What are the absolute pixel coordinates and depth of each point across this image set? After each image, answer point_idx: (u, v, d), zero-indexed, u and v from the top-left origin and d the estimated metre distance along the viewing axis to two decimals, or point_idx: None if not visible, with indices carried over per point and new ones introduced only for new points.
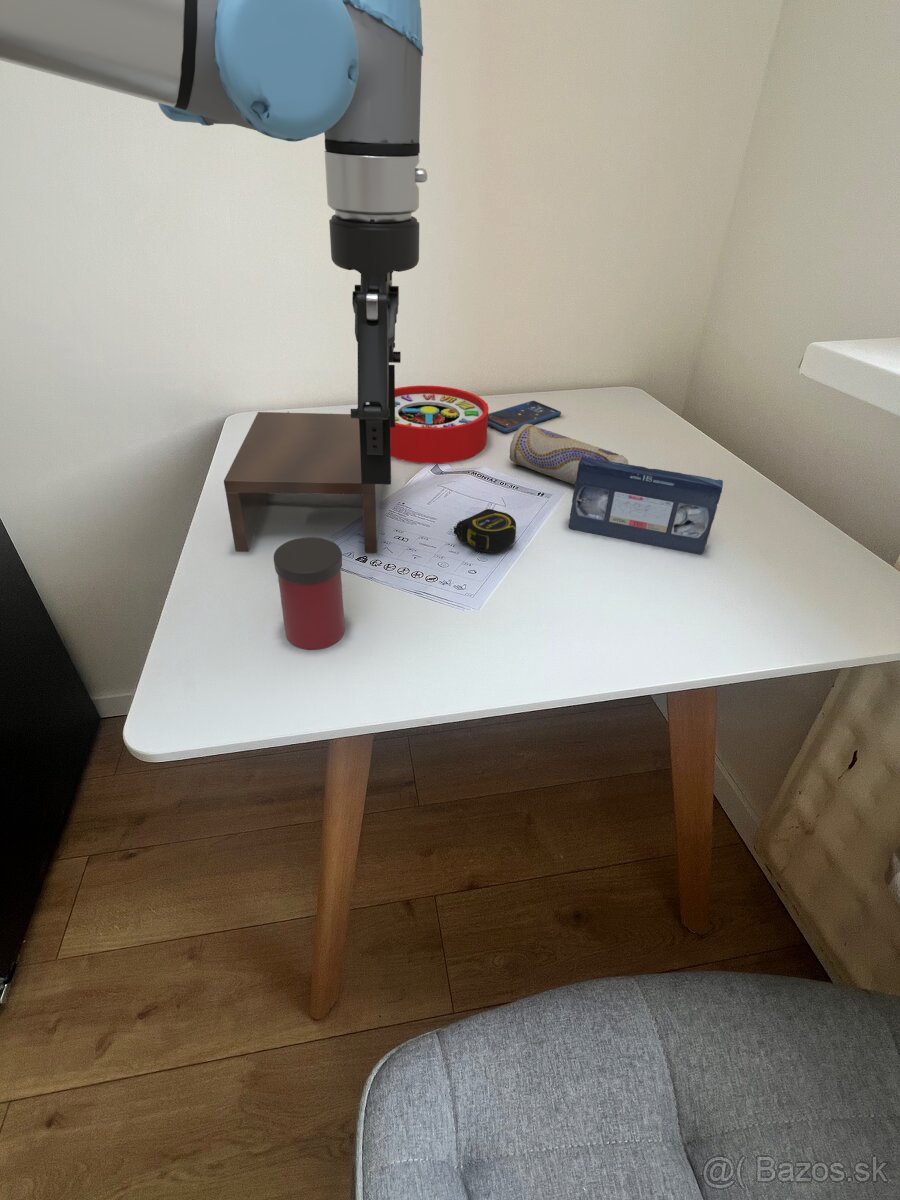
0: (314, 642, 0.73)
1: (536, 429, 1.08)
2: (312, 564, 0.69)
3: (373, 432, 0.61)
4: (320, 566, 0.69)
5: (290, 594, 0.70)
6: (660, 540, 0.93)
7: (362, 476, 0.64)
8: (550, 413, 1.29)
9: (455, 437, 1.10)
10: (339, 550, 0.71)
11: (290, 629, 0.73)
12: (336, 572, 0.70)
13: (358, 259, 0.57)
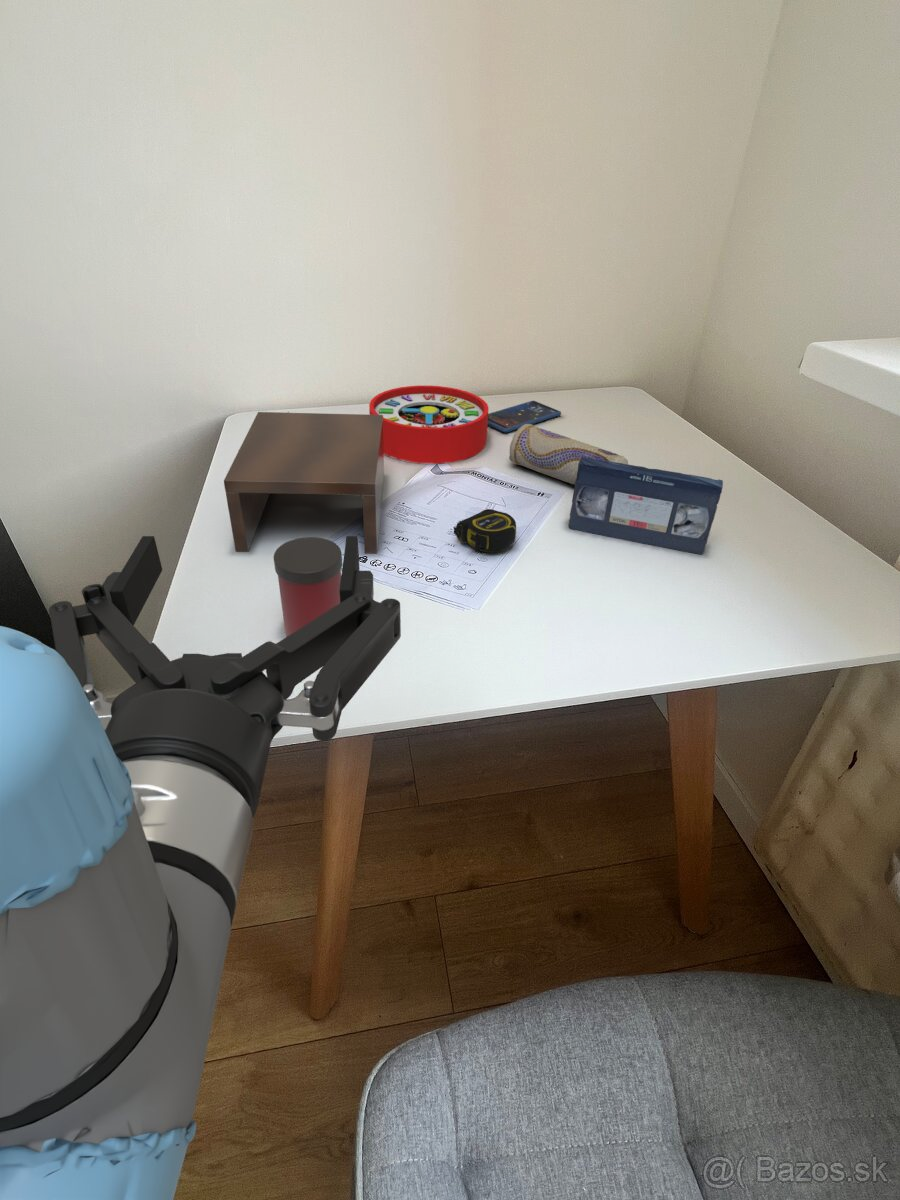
0: None
1: (536, 429, 1.08)
2: (312, 564, 0.69)
3: (371, 599, 0.44)
4: (320, 566, 0.69)
5: (290, 594, 0.70)
6: (660, 540, 0.93)
7: None
8: (550, 413, 1.29)
9: (455, 437, 1.10)
10: (339, 550, 0.71)
11: (290, 629, 0.73)
12: (336, 572, 0.70)
13: None
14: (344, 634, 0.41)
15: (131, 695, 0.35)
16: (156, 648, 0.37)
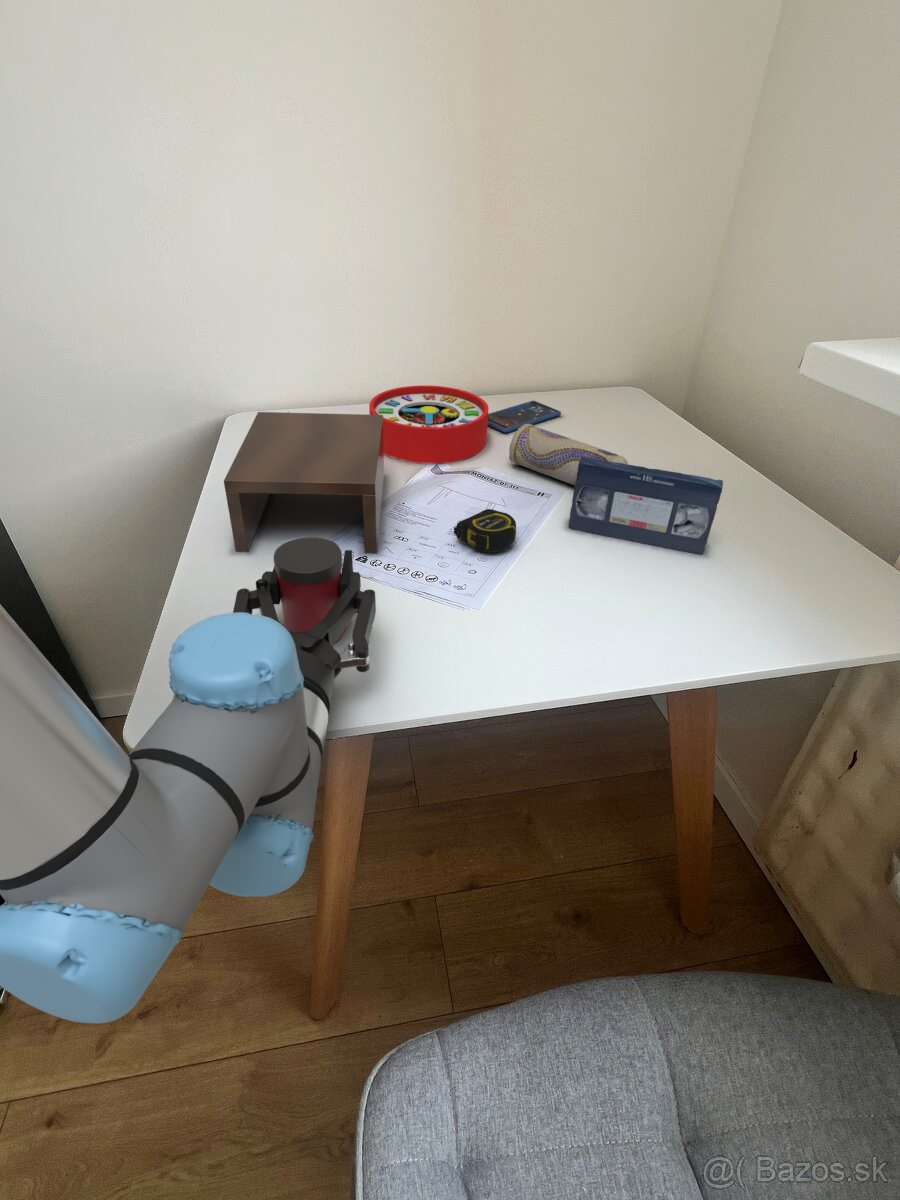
0: None
1: (536, 429, 1.08)
2: (312, 564, 0.69)
3: (359, 589, 0.73)
4: (320, 566, 0.69)
5: (290, 594, 0.70)
6: (660, 540, 0.93)
7: None
8: (550, 413, 1.29)
9: (455, 437, 1.10)
10: (339, 550, 0.71)
11: (290, 629, 0.73)
12: (336, 572, 0.70)
13: None
14: (349, 611, 0.70)
15: None
16: None
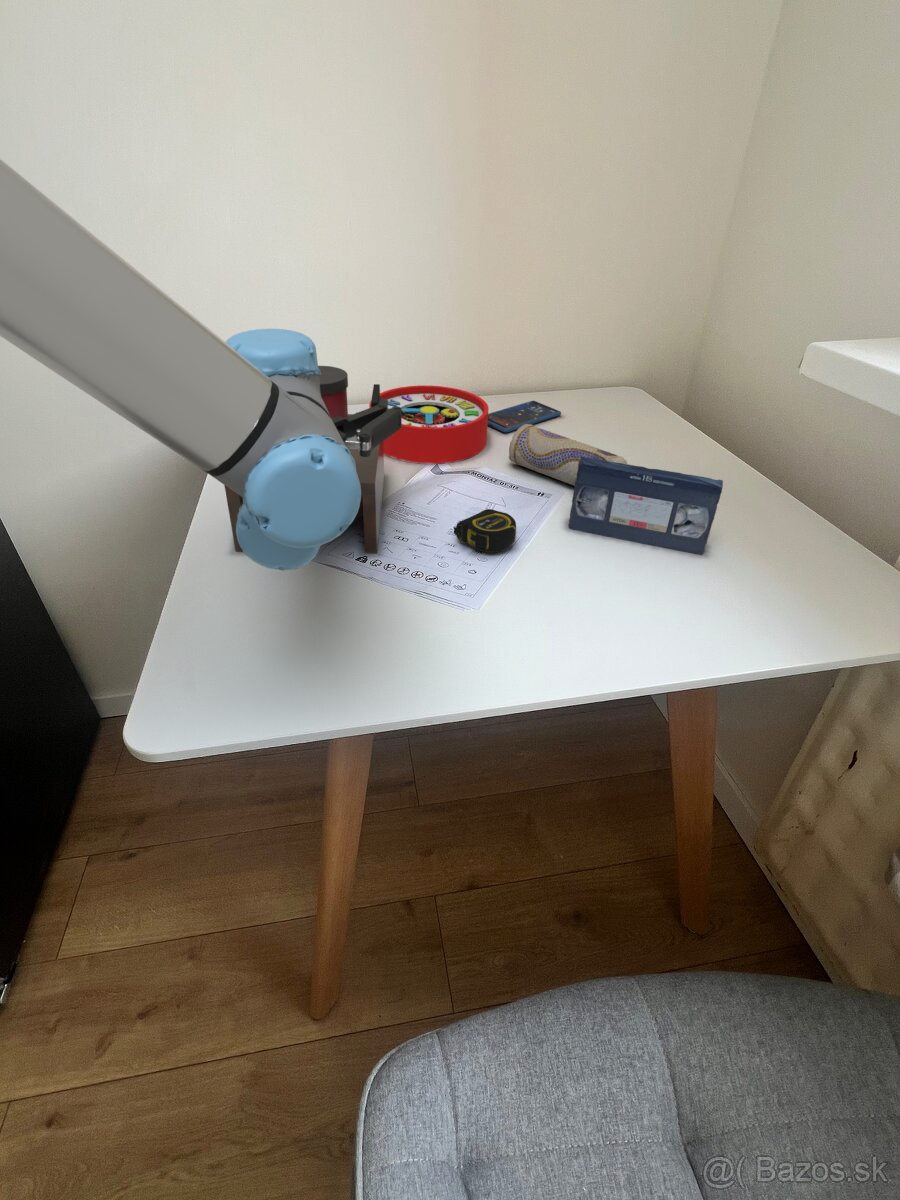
0: None
1: (536, 429, 1.08)
2: (323, 380, 0.83)
3: None
4: (330, 380, 0.83)
5: None
6: (660, 540, 0.93)
7: None
8: (550, 413, 1.29)
9: (455, 437, 1.10)
10: (345, 373, 0.86)
11: None
12: (343, 388, 0.84)
13: None
14: None
15: None
16: None
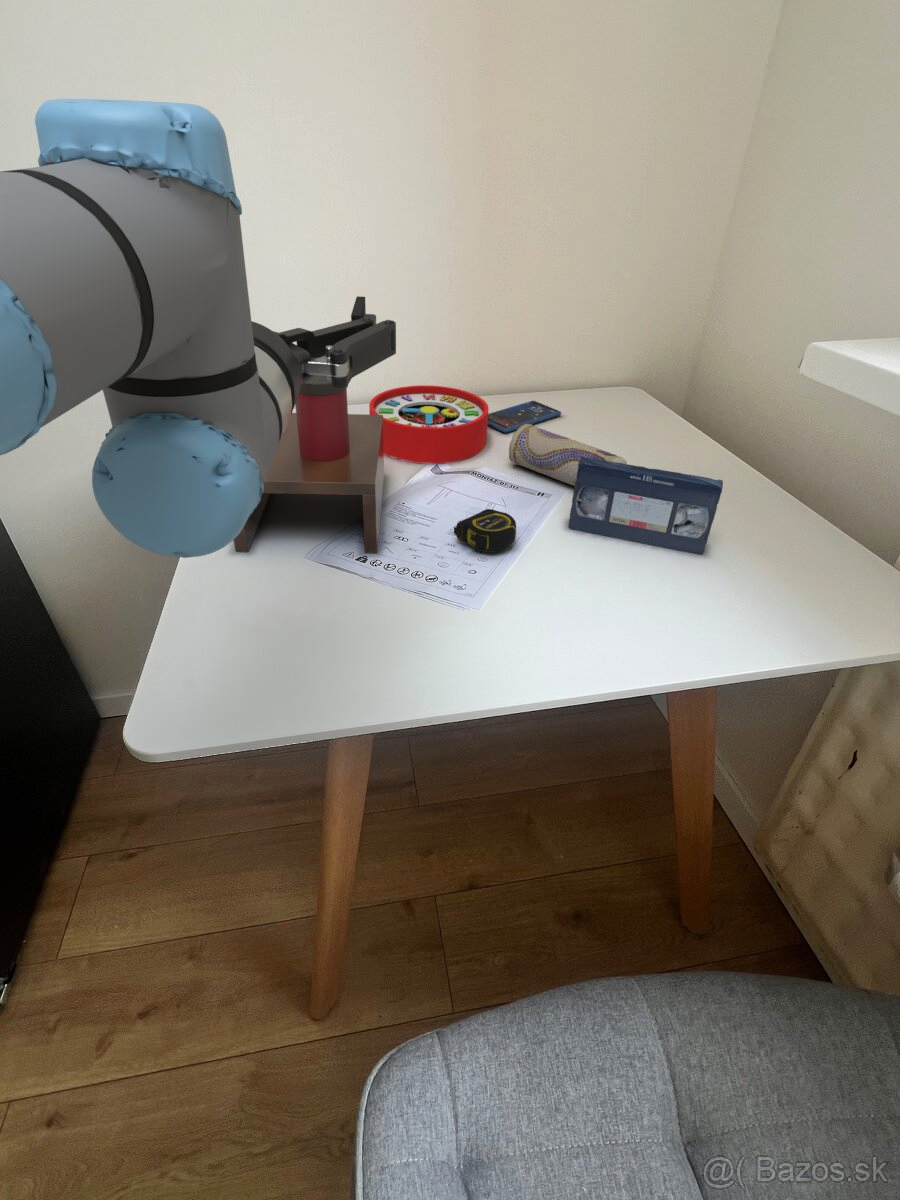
0: (324, 454, 0.88)
1: (535, 429, 1.08)
2: (323, 380, 0.83)
3: None
4: None
5: (304, 406, 0.84)
6: (660, 540, 0.93)
7: None
8: (550, 413, 1.29)
9: (455, 437, 1.10)
10: None
11: (304, 442, 0.88)
12: (343, 388, 0.84)
13: (297, 396, 0.49)
14: None
15: None
16: None
